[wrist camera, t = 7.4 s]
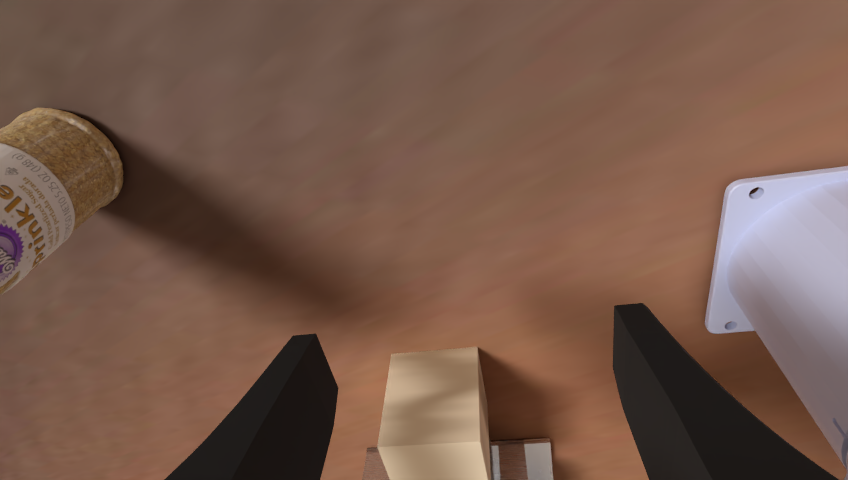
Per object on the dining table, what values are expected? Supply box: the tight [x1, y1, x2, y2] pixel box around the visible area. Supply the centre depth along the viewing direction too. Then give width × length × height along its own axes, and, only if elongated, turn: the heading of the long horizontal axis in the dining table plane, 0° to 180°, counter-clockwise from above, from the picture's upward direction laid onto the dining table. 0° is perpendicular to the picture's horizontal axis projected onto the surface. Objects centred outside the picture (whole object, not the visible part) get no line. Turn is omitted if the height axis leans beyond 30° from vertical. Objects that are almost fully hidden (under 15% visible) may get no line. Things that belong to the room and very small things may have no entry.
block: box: [377, 347, 491, 480], centre depth 26 cm, size 4×4×6 cm
